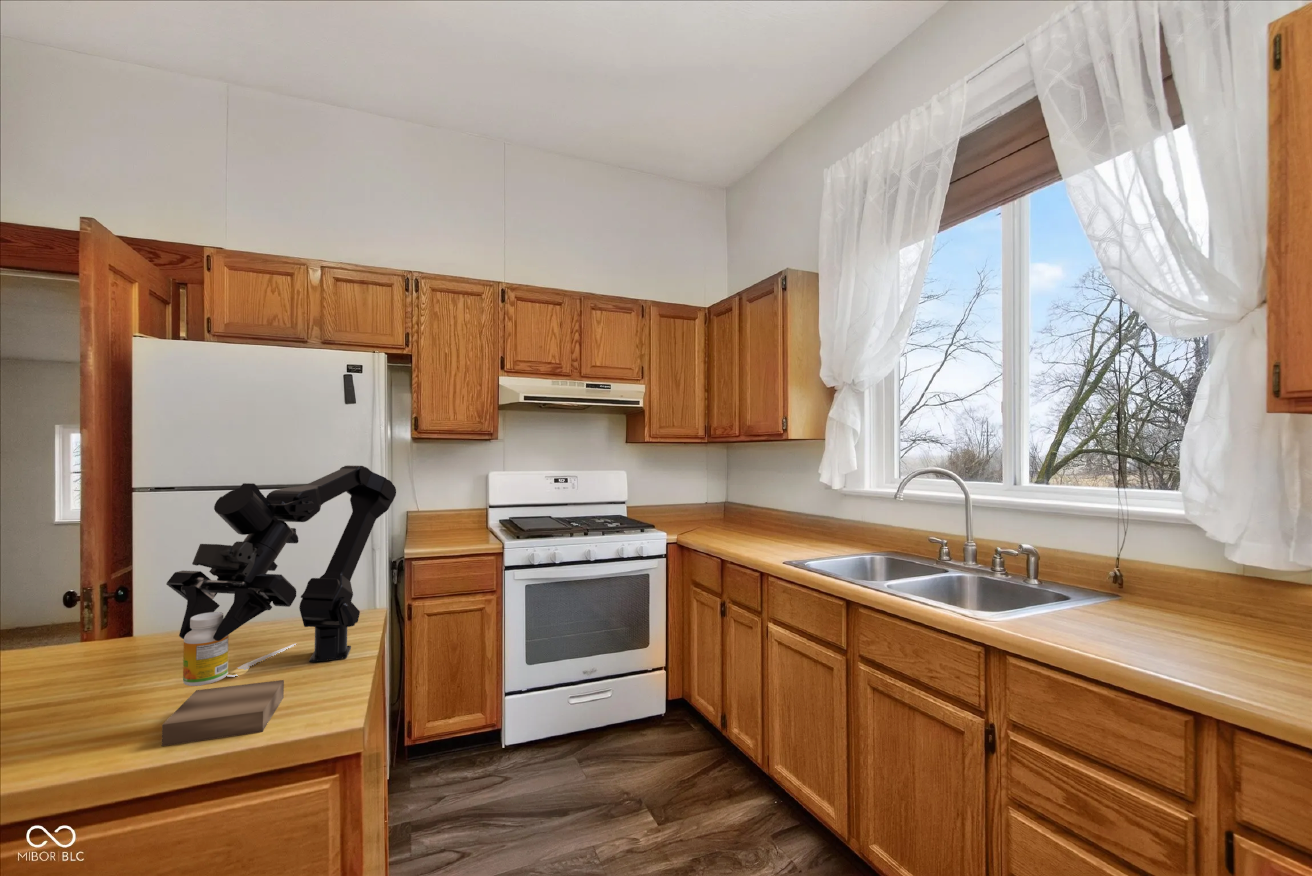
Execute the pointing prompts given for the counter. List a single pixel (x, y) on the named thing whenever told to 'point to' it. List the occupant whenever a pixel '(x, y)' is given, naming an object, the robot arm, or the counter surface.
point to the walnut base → (223, 712)
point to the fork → (260, 659)
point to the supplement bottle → (204, 651)
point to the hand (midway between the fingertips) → (198, 638)
